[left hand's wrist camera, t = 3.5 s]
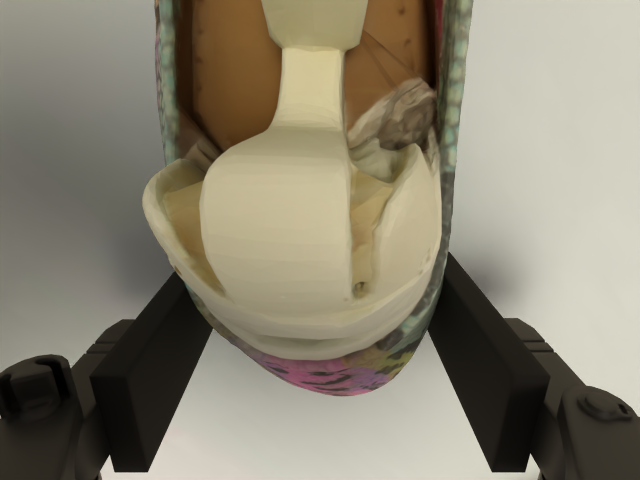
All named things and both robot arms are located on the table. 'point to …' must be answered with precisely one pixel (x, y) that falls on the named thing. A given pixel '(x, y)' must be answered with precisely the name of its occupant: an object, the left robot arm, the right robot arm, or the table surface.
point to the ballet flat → (310, 175)
